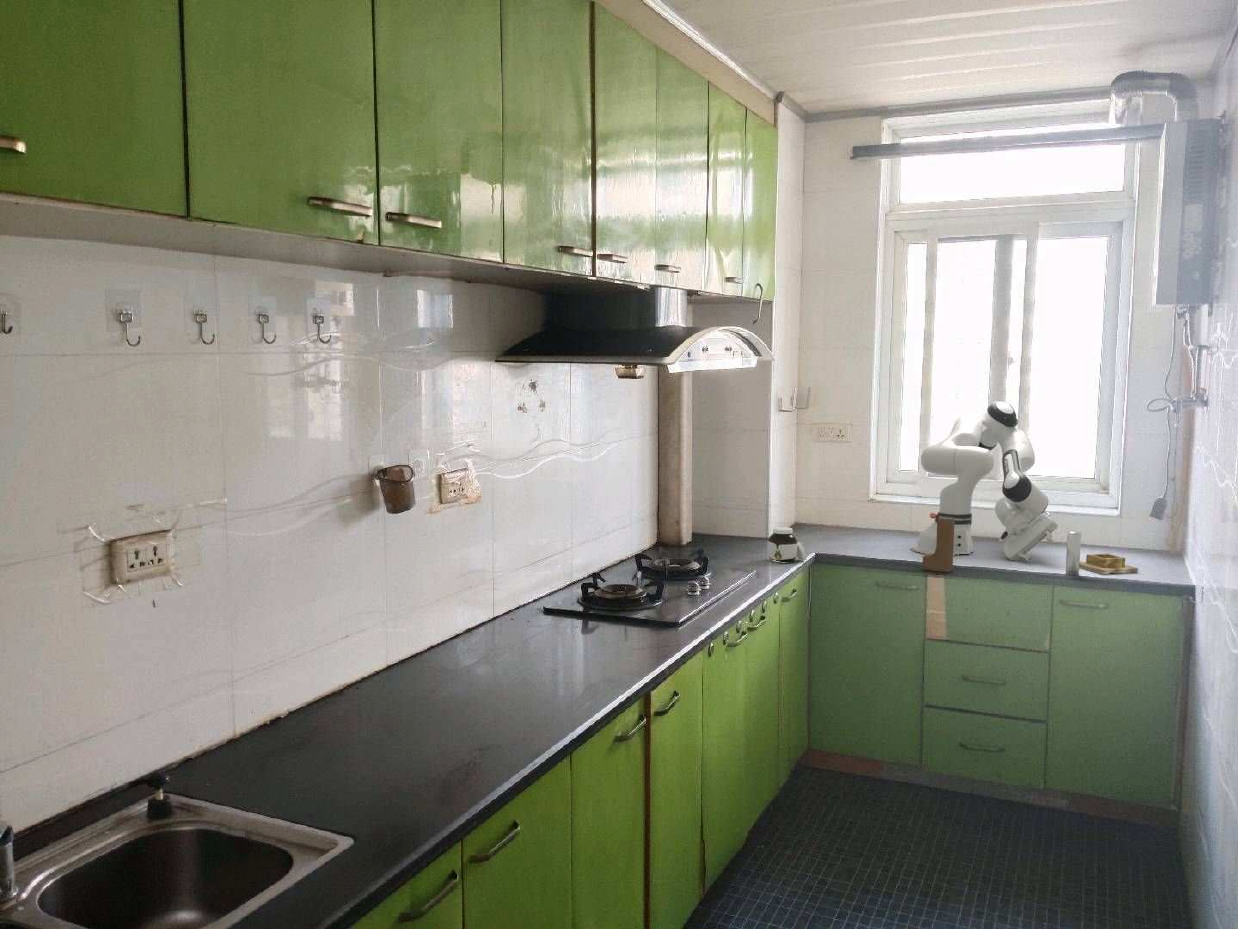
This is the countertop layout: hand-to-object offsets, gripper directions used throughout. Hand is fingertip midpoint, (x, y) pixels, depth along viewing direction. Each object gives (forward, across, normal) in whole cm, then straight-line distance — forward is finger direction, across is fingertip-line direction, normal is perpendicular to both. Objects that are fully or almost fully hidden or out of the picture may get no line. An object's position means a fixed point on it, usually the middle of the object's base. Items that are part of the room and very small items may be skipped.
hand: (1040, 550), depth 344 cm
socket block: (+11, -11, -14) cm, 21 cm away
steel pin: (+16, -3, -1) cm, 17 cm away
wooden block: (+7, +27, +29) cm, 40 cm away
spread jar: (-11, +62, +59) cm, 87 cm away
